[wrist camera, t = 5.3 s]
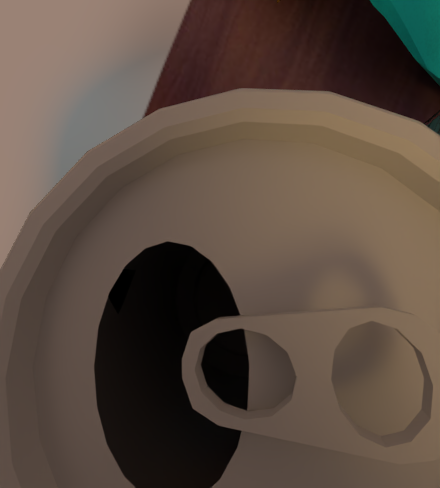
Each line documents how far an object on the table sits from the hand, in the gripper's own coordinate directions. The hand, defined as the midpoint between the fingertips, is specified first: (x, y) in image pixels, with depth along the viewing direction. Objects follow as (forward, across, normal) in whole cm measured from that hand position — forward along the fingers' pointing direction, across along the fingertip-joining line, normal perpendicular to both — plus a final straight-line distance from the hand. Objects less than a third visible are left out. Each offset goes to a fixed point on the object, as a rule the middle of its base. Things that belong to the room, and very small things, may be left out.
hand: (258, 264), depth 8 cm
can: (+4, 0, +6) cm, 7 cm away
